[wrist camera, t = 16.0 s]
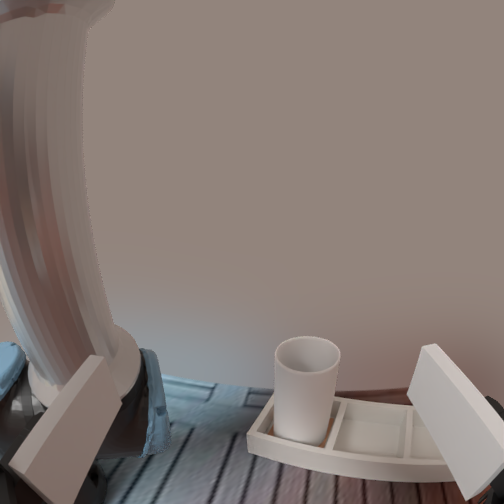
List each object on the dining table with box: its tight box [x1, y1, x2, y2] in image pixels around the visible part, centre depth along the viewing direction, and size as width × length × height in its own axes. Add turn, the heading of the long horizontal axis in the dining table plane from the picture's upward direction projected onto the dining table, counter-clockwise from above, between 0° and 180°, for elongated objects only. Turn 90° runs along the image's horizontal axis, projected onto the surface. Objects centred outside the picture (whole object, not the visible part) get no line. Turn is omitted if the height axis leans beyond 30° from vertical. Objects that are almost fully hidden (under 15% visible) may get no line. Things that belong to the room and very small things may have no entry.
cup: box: [273, 336, 341, 447], centre depth 35 cm, size 8×8×16 cm
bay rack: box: [247, 393, 455, 482], centre depth 32 cm, size 34×12×5 cm, turn 64°
